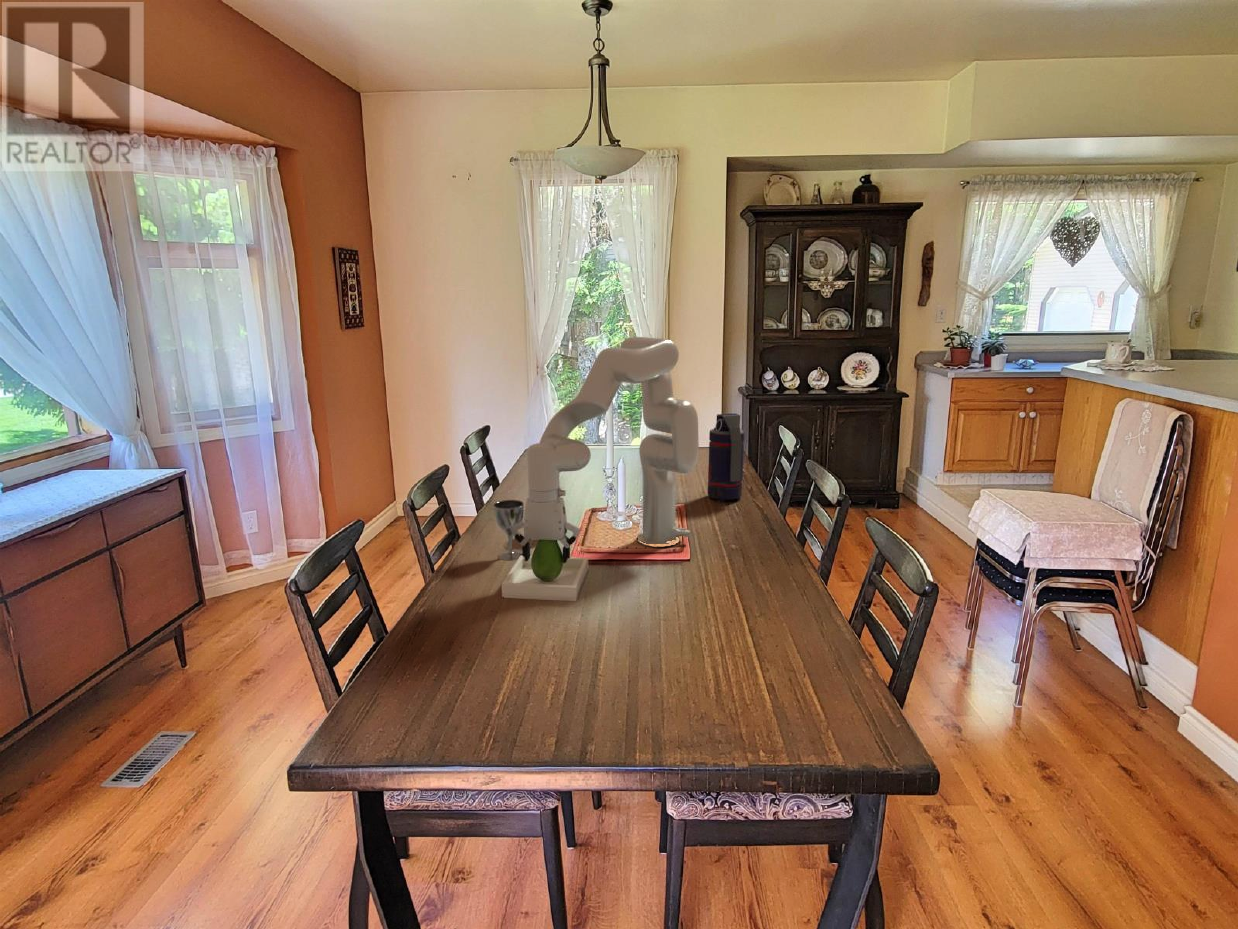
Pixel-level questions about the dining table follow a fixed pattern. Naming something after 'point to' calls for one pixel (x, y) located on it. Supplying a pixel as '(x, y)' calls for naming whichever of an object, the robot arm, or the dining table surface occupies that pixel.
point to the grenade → (726, 458)
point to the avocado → (547, 560)
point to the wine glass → (509, 523)
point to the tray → (531, 587)
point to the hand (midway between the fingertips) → (546, 560)
